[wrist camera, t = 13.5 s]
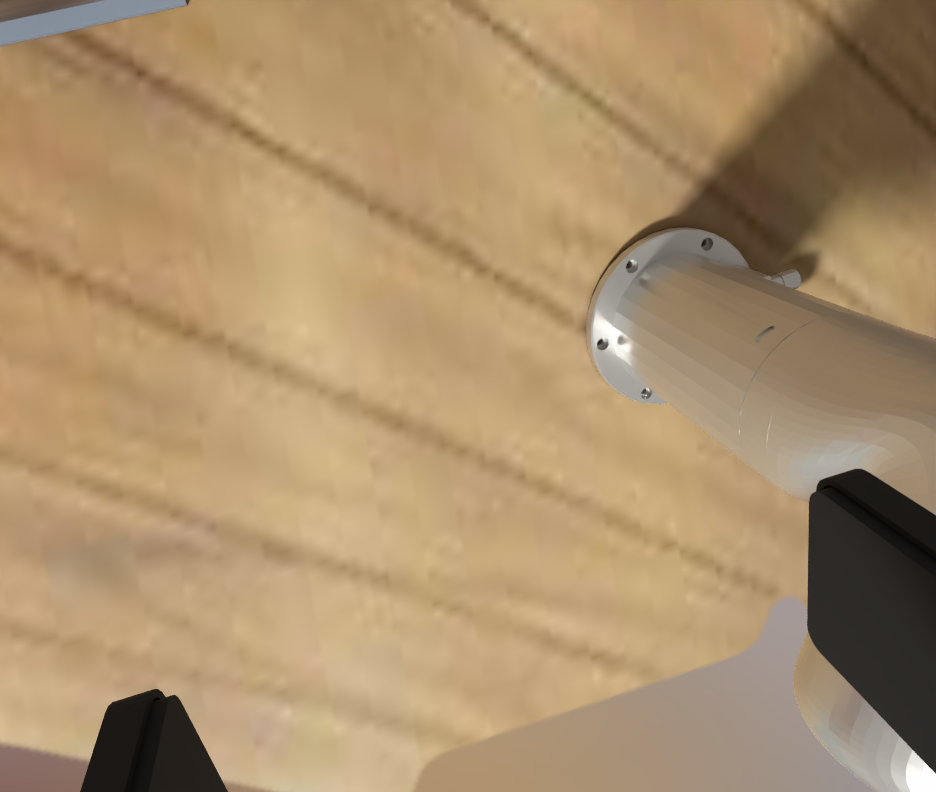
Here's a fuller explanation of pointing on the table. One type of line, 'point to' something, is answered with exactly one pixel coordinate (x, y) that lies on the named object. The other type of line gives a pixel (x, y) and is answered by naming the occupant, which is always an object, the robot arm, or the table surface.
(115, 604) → the table surface
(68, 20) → the mat
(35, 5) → the cover
